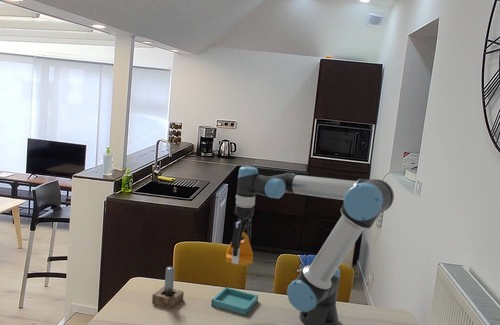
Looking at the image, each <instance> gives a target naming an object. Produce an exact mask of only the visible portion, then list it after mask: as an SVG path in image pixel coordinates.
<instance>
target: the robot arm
mask: <svg viewBox="0 0 500 325" xmlns="http://www.w3.org/2000/svg"><path fill="white" fill-rule="evenodd" d="M258 169H259V168H257V167H255V166H248V165H247V166H240V168H239V169H238V174H237V186H236V187H237V188H236V195H235V197H234V198H235V204H236V205H235V207H234V215H235V216H237V220H236V221H235V222H234V223H233V231H232V239H231V242H230V244H231V247H233V253H232V263H235V264H239V254H240V248H239V246H240V242H241V241H242V240H244V238H243V237H242V234H243V232H246V233H247V235H248V238H249V242H251V241H252V219H253V216H254V213H255V207H254V206H255V205H256V195H261V196H264V197H268V198H269V199H280V198H282V197H283V196H284V194H286V193H288V194H297V195H303V196H304V195H305V196H311V197H319V198H326V199H334V200H339V201H340V200H341V201H343V204H342V206H341V208H340V212H341V216H340V218H339V219H338V221H337V222H336V224H335V225H334V227H333V229H332V230H331V232H330V234H329V235H328V237H327V238H326V240H325V241H324V243H323V244H322V246H321V248H320V250H318V253H317V254H316V256H315V257H314V259H313V260H312V261H311V263H310V265H305V266H304V267H303V268H302V270H301V271H300V273H299V275H298V276H297V277H296V278H295V280H292V281H291V282H290V284H288V286H287V289H286V295H287V297H288V298H287V299H288V302H289V303H290V304H291V306H292V307H293V308H294V309H295V310H297V311H299V320H300V321H301V322H302V324H304V325H338V323H339V314H338V309H337V298H338V293H339V285H340V281H341V269H340V268H339V267H340V266H341V265H342V263H343V261H344V260H345V259H346V257H347V256H348V254H349V252H350V251H351V250H352V248H353V247H354V245H355V243H356V242H357V241H358V239H359V237H360V236H361V234H362V233H363V231H364V230H369V229H371V228H372V226H373V225H374V223H375V222H376V220H378V218H379V216H380V215H381V214H382V213H384V212H386V211H387V210H388V209H390V208H391V206H392V204H393V202H394V200H395V193H394V190H393V188H392V187H391V185H390V184H389V183H388V182H387V181H385V180H382V179H377V178H376V179H374V178H373V179H369V178H368V179H365V178H359V179H357V180H347V179H338V178H330V177H320V176H319V177H318V176H312V175H311V176H310V175H300V174H296V173H293V172H285V173H281V174H276V175H270V176H268V175H264V174H259V170H258ZM232 263H231V264H232Z"/></svg>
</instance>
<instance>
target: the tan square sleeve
mask: <svg viewBox="0 0 500 325" xmlns="http://www.w3.org/2000/svg"><path fill="white" fill-rule="evenodd" d="M164 288H165V285H164V286H163V287H161V288H160V289H159V290H157V291H155V292H154V293H153V294H152V298H151V300H152V301H151V303H152V304H155V305H159V306H161V307H165V308H169V309H173V308H175V307H176V306H177V305H178V304H180V303H181V302H182V301H183V300H184V294H185V292H184V291H183V290H180V289H176V288H173V296H171V297H169V296H166V295H164Z"/></svg>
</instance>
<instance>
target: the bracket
mask: <svg viewBox="0 0 500 325" xmlns="http://www.w3.org/2000/svg"><path fill="white" fill-rule="evenodd" d="M243 238H244V239H243ZM250 242H251V241H249V238H248V235H247V233H246V232H243V234H242V239H241V242H240V246H239V248H240V254H239V264H235V263H232V253H233V247H231V243H230V244H229V245H228V248H227V250H226V255H225V262H226V263H231V264H232V265H233V266H247V265H253V264H254V253H253V249H252V247H251V243H250Z"/></svg>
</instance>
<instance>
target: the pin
mask: <svg viewBox="0 0 500 325" xmlns="http://www.w3.org/2000/svg"><path fill="white" fill-rule="evenodd" d="M175 270H176V268H175V267H173V266H167V267H165V277H164V286H165V288H164V295H166V296H169V297H171V296H173V289H174V282H175V281H174V280H175Z"/></svg>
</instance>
